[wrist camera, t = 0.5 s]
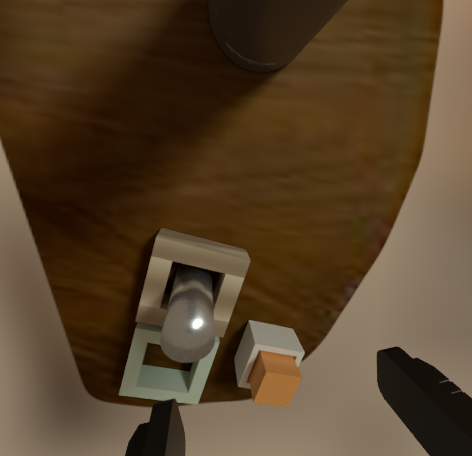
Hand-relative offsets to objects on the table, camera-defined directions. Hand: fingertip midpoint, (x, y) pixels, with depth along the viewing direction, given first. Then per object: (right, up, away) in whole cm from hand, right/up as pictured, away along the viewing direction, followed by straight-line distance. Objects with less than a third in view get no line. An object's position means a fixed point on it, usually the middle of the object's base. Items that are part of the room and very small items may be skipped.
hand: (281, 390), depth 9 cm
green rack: (-10, -9, +20) cm, 24 cm away
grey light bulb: (-7, +1, +18) cm, 19 cm away
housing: (+2, -9, +22) cm, 24 cm away
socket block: (-6, +1, +18) cm, 19 cm away
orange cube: (+2, -9, +19) cm, 21 cm away
